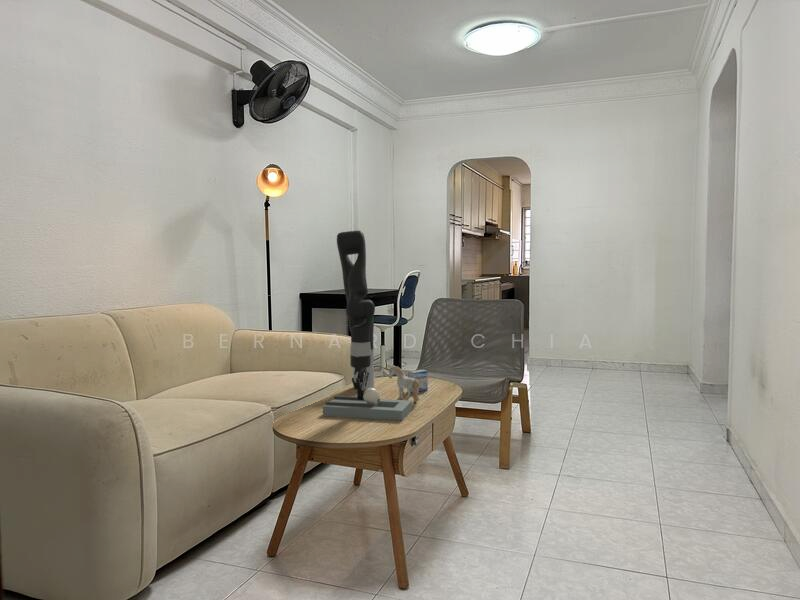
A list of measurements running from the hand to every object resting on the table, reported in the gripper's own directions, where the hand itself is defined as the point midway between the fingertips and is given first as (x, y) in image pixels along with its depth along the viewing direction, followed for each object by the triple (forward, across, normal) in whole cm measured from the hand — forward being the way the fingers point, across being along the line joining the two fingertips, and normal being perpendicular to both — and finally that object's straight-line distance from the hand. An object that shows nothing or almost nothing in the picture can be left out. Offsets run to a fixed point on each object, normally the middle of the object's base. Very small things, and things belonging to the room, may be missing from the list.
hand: (360, 399), depth 217 cm
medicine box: (+5, -40, +12) cm, 42 cm away
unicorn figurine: (+5, -19, +10) cm, 22 cm away
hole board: (+5, 0, +3) cm, 6 cm away
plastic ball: (-2, 0, +4) cm, 4 cm away
